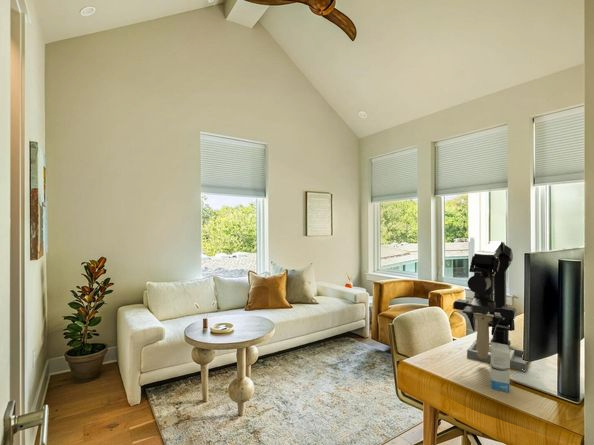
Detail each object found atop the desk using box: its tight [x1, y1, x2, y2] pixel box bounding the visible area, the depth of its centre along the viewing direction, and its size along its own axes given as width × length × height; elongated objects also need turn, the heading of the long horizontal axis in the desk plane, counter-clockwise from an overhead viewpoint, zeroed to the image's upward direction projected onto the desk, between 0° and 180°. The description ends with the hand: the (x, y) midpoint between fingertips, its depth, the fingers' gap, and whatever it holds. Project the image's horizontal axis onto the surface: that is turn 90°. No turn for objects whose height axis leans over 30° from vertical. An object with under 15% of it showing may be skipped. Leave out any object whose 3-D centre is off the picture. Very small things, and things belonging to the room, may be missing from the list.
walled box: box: [466, 339, 529, 371], centre depth 125 cm, size 14×18×2 cm
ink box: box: [489, 342, 511, 393], centre depth 104 cm, size 8×5×12 cm, turn 151°
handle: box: [473, 313, 494, 359], centre depth 118 cm, size 5×6×15 cm
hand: (483, 333), depth 118 cm, fingers closed on handle, 5 cm apart
